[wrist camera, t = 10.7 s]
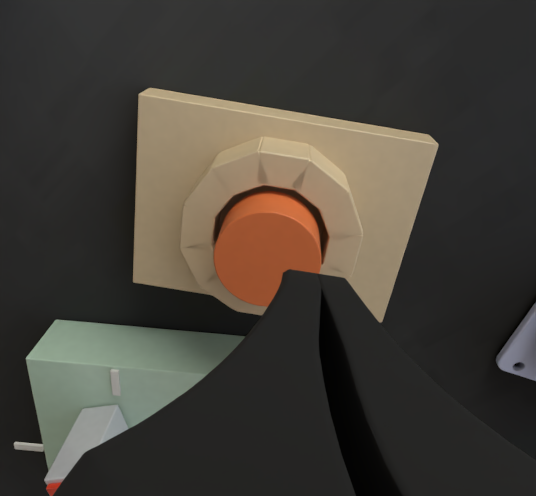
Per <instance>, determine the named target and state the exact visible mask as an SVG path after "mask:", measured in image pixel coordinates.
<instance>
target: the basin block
mask: <svg viewBox="0 0 536 496" xmlns="http://www.w3.org/2000/svg"><path fill="white" fill-rule="evenodd" d="M245 337H246V336H239V335H227V334H216V333H205V332H193V331H182V330H171V329H159V328H148V327H137V326H125V325H114V324H103V323H91V322H80V321H69V320H57V319H56V320H55V321H54V322H53V324H52V325H51V326H50V327H49V329H48V330H47V331H46V333H45V334H44V335H43V336H42V338H41V339H40V340H39V342H38V343H37V344H36V345H35V347H34V348H33V349H32V351H31V352H30V353H29V355H28V356H27V357H26V364H27V369H28V373H29V378H30V383H31V388H32V393H33V398H34V403H35V407H36V412H37V417H38V422H39V427H40V432H41V437H42V442H43V444H35V443H24V442H15V443H14V447H15V449H19V450H29V451H40V452H43V451H45V456H46V461H47V466H48V471H49V470H50V468H51V466H52V464H53V462H54V460H55V458H56V457H57V455H58V453H59V451H60V449H61V447H62V445H63V444H64V442H65V440H66V438H67V436H68V434H69V432H70V430H71V429H72V427H73V425H74V423H75V421H76V419H77V417H78V416H79V414H80V412H81V410H82V409H83V408H91V407H100V406H108V405H118V406H119V408H120V410H121V412H122V415H123V417H124V419H125V421H126V424H127V426H128V428H131V427H133V426H135V425H137V424H138V423H140V422H142V421H143V420H145V419H147V418H148V417H150V416H151V415H153V414H154V413H156V412H157V411H159V410H160V409H162V408H163V407H164V406H166V405H167V404H169V403H170V402H172V401H173V400H175V399H176V398H178V397H179V396H181V395H182V394H184V393H185V392H186V391H188V390H189V389H190V388H191V387H193V386H194V385H195V384H197V383H198V382H199V381H200V380H201V379H203V378H204V377H205V376H206V375H207V374H208V373H210V372H211V371H212V370H213V369H214V368H215V367H216V366H218V365H219V364H220V363H221V362H222V361H223V360H224V359H225V358H226V357H227V356H228V355H229V354H230V353H231V352H232V351H233V350H234V349H235V348H236V347H237V346H238V345H239V343H240V342H241V341H242V340H243V339H244V338H245Z"/></svg>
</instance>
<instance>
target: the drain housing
mask: <svg viewBox="0 0 536 496" xmlns="http://www.w3.org/2000/svg"><path fill="white" fill-rule="evenodd" d="M437 149H438V143H437V142H436V141H435V140H434V139H433V138H432V137H431V136H430V135H428V134H422V133H416V132H410V131H404V130H398V129H393V128H387V127H381V126H375V125H369V124H363V123H357V122H351V121H345V120H339V119H333V118H327V117H321V116H316V115H310V114H304V113H298V112H292V111H286V110H280V109H274V108H268V107H262V106H256V105H250V104H244V103H238V102H233V101H227V100H221V99H215V98H209V97H203V96H197V95H191V94H185V93H179V92H173V91H167V90H161V89H155V88H149V89H147V90H145V91H143V92H141V93H140V94H139V95H138V127H137V160H136V194H135V227H134V260H133V282H134V283H140V284H146V285H152V286H158V287H165V288H171V289H177V290H183V291H189V292H196V293H202V294H208V295H213V296H214V297H216V298H217V299H218V300H220V301H221V302H223V303H224V304H226V305H227V306H229V307H230V308H232V309H233V310H236V311H238V312H244V313H250V314H256V315H263V314H264V312H265V310H266V309H267V307H265V306H257V305H253V304H250V303H247V302H245V301H242V300H240V299H239V298H237V297H235V296H234V295H233V294H232V293H230V292H229V291H228V290H227V289H226V288H225V287H224V285H223V284H222V283H221V281H220V279H219V278H218V275H217V273H216V270H215V266H214V259H213V256H214V248H215V244H216V241H217V239H218V236H219V233H220V230H221V227H222V224H223V221H224V219H225V217H226V215H227V213H228V211H229V210H230V209H231V207H232V206H233V205H234V204H235V203H237V202H238V201H239V200H241V199H242V198H244V197H246V196H248V195H250V194H253V193H257V192H262V191H276V192H281V193H285V194H288V195H291V196H293V197H295V198H297V199H298V200H299V201H301V202H302V203H303V204H305V205H306V206H307V207H308V209H309V210H310V211H311V212H312V214H313V215H314V217H315V219H316V222H317V225H318V228H319V236H320V248H321V269H320V273H319V274H324V275H330V276H337V277H343V278H345V279H346V280H347V281H348V282H349V284H350V285H351V286H352V288H353V289H354V290H355V292H356V293H357V294H358V296H359V297H360V298H361V300H362V301H363V302H364V304H365V305H366V306H367V308H368V309H369V310H370V311H371V313H372V314H373V315H374V317H375V318H376V319H377V320H378V322H382V321H383V318H384V315H385V311H386V308H387V305H388V302H389V299H390V296H391V293H392V290H393V286H394V283H395V280H396V277H397V274H398V271H399V268H400V264H401V261H402V258H403V255H404V252H405V249H406V246H407V243H408V239H409V236H410V233H411V230H412V227H413V224H414V221H415V218H416V214H417V211H418V208H419V205H420V202H421V199H422V196H423V192H424V189H425V186H426V183H427V180H428V177H429V174H430V171H431V167H432V164H433V161H434V158H435V155H436V152H437Z"/></svg>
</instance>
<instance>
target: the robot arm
mask: <svg viewBox="0 0 536 496" xmlns="http://www.w3.org/2000/svg"><path fill="white" fill-rule="evenodd" d="M518 362H521V363H520V364H518V365H514V364H516V363H518ZM496 363H497V365H498V367H499V368H500V369H501V370H503V371H506V372H509V373H512V374H515V375H519V376H522V377H525V378H528V379H531V380H534V381H536V302H535V304H534V305H533V306H532V308H531V309H530V311H529V312H528V313H527V315H526V316H525V318H524V319H523V320H522V322H521V323H520V324H519V326H518V327H517V329H516V330H515V331H514V333H513V334H512V336H511V337H510V338H509V340H508V341H507V343H506V344H505V345H504V347H503V348H502V350H501V351H500V352H499V354H498V355H497V357H496ZM53 496H536V460H535V459H533V458H532V457H530V456H529V455H527V454H526V453H524V452H523V451H522V450H520V449H519V448H517V447H516V446H514V445H513V444H512V443H510V442H509V441H507V440H506V439H505V438H503V437H502V436H501V435H499V434H498V433H497V432H495V431H494V430H493V429H491V428H490V427H489V426H487V425H486V424H485V423H483V422H482V421H481V420H480V419H478V418H477V417H476V416H474V415H473V414H472V413H470V412H469V411H468V410H467V409H466V408H464V407H463V406H462V405H461V404H459V403H458V402H457V401H456V400H455V399H454V398H452V397H451V396H450V395H449V394H448V393H447V392H446V391H445V390H444V389H442V388H441V387H440V386H439V385H438V384H437V383H436V382H435V381H434V380H432V379H431V378H430V377H429V376H428V375H427V374H426V373H425V372H424V371H423V370H422V369H421V368H420V367H419V366H418V365H417V364H416V363H415V362H414V361H413V360H412V359H411V358H410V357H409V356H408V355H407V354H406V352H405V351H404V350H403V349H402V348H401V347H400V346H399V345H398V344H397V343H396V342H395V340H394V339H393V338H392V337H391V336H390V335H389V334H388V332H387V331H386V330H385V329H384V328H383V326H382V325H381V324H380V323H379V322H378V320H377V319H376V318H375V317H374V315H373V314H372V313H371V311H370V310H369V309H368V308H367V306H366V305H365V304H364V302H363V301H362V300H361V298H360V297H359V296H358V294H357V293H356V292H355V290H354V289H353V288H352V286H351V285H350V284H349V282H348V281H347V280H346V279H345V278H343V277H337V276H330V275H324V274H318V273H311V272H305V271H298V270H292V269H288V270H287V271H285V272H283V275H282V280H281V284H280V286H279V288H278V290H277V292H276V294H275V296H274V298H273V299H272V301H271V303H270V304H269V306H268V307H267V309H266V310H265V312H264V314H263V315H262V316H261V318H260V319H259V320H258V322H257V323H256V324H255V325H254V327H253V328H252V329H251V330H250V332H249V333H248V334H247V335H246V337H245V338H244V339H243V340H242V341H241V342H240V343H239V345H238V346H237V347H236V348H235V349H234V350H233V351H232V352H231V353H230V354H229V355H228V356H227V357H226V358H225V359H224V360H223V361H222V362H221V363H220V364H219V365H218V366H216V367H215V368H214V369H213V370H212V371H211V372H210V373H208V374H207V375H206V376H205V377H204V378H203V379H201V380H200V381H199V382H198V383H197V384H195V385H194V386H193V387H191V388H190V389H189V390H188V391H186V392H185V393H184V394H182V395H181V396H179V397H178V398H176V399H175V400H173V401H172V402H170V403H169V404H167V405H166V406H164V407H163V408H162V409H160V410H159V411H157V412H156V413H154V414H153V415H151V416H150V417H148V418H147V419H145V420H143V421H142V422H140V423H138V424H137V425H135V426H133V427H131V428H129V429H127V430H126V431H124V432H122V433H120V434H118V435H116V436H115V437H113V438H111V439H109V440H107V441H106V442H104V443H102V444H100V445H98V446H96V447H94V448H92V449H90V450H88V451H86V452H85V453H84V454H83V455H82V456H81V458H80V459H79V460H78V461H77V463H76V464H75V465H74V467H73V468H72V469H71V471H70V472H69V473H68V475H67V476H66V477H65V479H64V480H63V481H62V483H61V484H60V486H59V487H58V489H57V490H56V491H55V493H54V494H53Z"/></svg>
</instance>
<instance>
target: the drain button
mask: <svg viewBox="0 0 536 496" xmlns="http://www.w3.org/2000/svg"><path fill="white" fill-rule="evenodd" d="M213 259H214V266H215V270H216V273H217V275H218V278H219V279H220V281H221V283H222V284H223V285H224V287H225V288H226V289H227V290H228V291H229V292H230V293H232V294H233V295H234V296H235V297H237V298H239V299H240V300H242V301H245V302H247V303H250V304H253V305H257V306H265V307H268V306H269V304H270V303H271V301H272V299H273V298H274V296H275V294H276V292H277V290H278V288H279V286H280V284H281V280H282V275H283V272H285V271H287V270H288V269H292V270H298V271H305V272H311V273H318V274H319V273H320V269H321V248H320V236H319V228H318V225H317V222H316V219H315V217H314V215H313V214H312V212H311V211H310V210H309V209H308V207H307V206H306V205H305V204H303V203H302V202H301V201H299V200H298V199H297V198H295V197H293V196H291V195H288V194H285V193H281V192H276V191H262V192H257V193H253V194H250V195H248V196H246V197H244V198H242V199H241V200H239V201H238V202H237V203H235V204H234V205H233V206H232V207H231V209H230V210H229V211H228V213H227V215H226V217H225V219H224V221H223V224H222V227H221V230H220V233H219V236H218V239H217V241H216V244H215V248H214V256H213Z"/></svg>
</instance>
